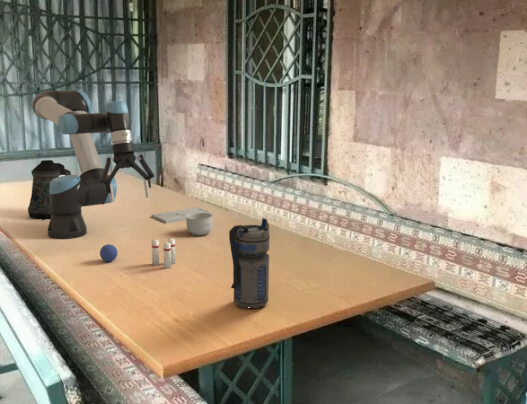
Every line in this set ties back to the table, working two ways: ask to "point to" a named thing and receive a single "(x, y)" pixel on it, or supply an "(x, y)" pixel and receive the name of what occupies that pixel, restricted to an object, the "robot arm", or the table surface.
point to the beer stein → (44, 188)
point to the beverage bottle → (250, 264)
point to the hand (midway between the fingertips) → (130, 199)
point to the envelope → (178, 214)
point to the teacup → (199, 223)
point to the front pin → (155, 252)
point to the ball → (108, 252)
